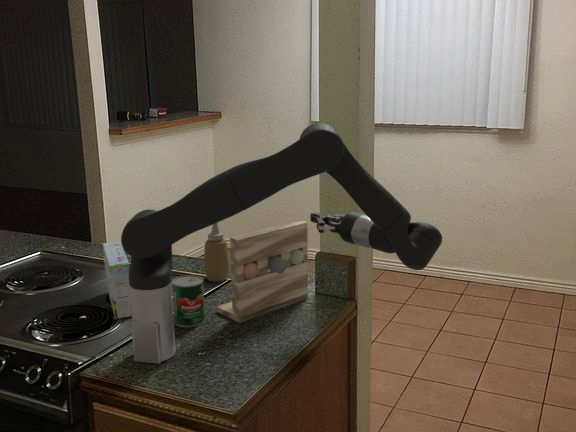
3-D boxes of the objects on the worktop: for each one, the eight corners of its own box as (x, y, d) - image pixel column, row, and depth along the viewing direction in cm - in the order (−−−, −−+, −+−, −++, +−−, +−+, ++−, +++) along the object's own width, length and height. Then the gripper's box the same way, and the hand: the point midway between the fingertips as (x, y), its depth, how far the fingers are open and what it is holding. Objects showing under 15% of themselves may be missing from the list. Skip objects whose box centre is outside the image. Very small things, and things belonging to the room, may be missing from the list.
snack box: (106, 292, 182) (101, 242, 179) (125, 289, 184) (121, 240, 181) (113, 320, 163) (108, 265, 159) (135, 317, 165) (131, 262, 161)
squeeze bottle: (202, 284, 188) (200, 225, 184) (205, 274, 196) (202, 218, 191) (230, 283, 188) (227, 225, 184) (231, 274, 196) (229, 218, 192)
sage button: (303, 263, 172) (303, 248, 171) (293, 266, 169) (292, 252, 168) (293, 259, 175) (293, 245, 174) (283, 262, 172) (282, 248, 171)
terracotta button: (258, 277, 161) (258, 262, 160) (246, 280, 159) (245, 265, 158) (248, 273, 164) (248, 258, 163) (236, 276, 162) (236, 262, 161)
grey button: (286, 271, 165) (286, 257, 164) (275, 275, 163) (275, 260, 162) (276, 267, 168) (276, 253, 167) (265, 271, 165) (264, 256, 164)
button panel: (307, 298, 176) (307, 222, 171) (240, 323, 161) (237, 240, 155) (283, 289, 183) (282, 215, 178) (216, 311, 168) (213, 232, 162)
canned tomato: (187, 330, 157) (185, 288, 154) (167, 321, 162) (165, 281, 159) (211, 320, 163) (209, 279, 160) (191, 312, 168) (189, 273, 165)
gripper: (381, 211, 154) (330, 198, 166) (345, 220, 145) (293, 206, 158) (380, 240, 156) (329, 226, 168) (344, 251, 147) (293, 235, 160)
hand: (312, 216), depth 163 cm, fingers closed
